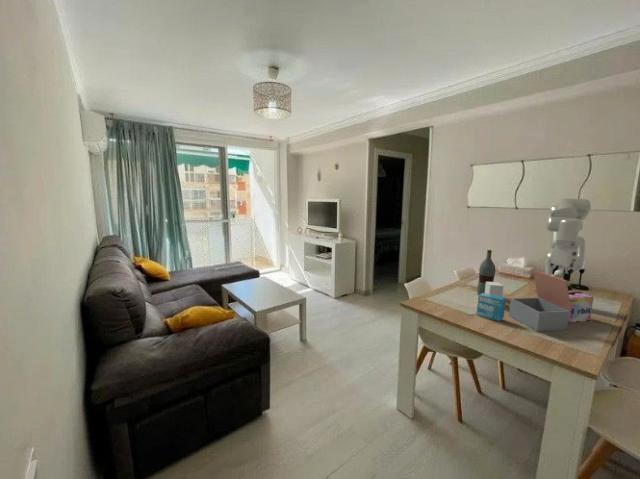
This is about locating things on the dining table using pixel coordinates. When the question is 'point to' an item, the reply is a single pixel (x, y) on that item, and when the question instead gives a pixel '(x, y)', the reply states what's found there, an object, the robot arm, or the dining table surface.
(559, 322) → the carton
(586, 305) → the gum box
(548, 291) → the lid flap
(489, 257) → the bottle
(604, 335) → the dining table surface
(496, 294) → the supplement box
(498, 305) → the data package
